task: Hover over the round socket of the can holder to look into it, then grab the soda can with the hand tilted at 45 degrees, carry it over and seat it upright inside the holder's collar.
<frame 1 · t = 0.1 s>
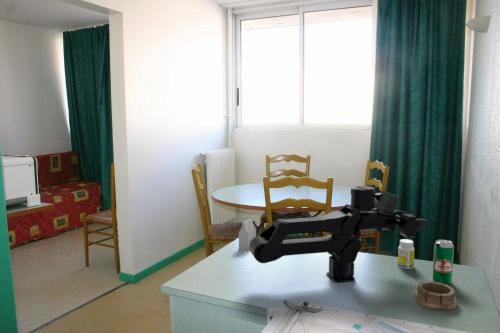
hand: (418, 217, 124), 17 cm above the kitchen counter, tool horizontal, fingers open, 9 cm apart
grey pointed block: (247, 247, 148), on the kitchen counter
supplement bottle: (405, 267, 129), on the kitchen counter
holder: (435, 301, 105), on the kitchen counter
soda can: (441, 282, 117), on the kitchen counter
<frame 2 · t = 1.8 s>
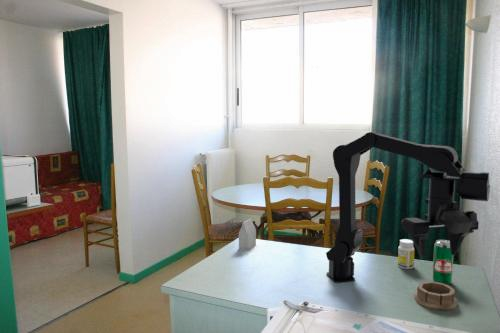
hand: (437, 256, 103), 12 cm above the kitchen counter, tool pointing down, fingers open, 9 cm apart
nothing on the kitchen counter moved.
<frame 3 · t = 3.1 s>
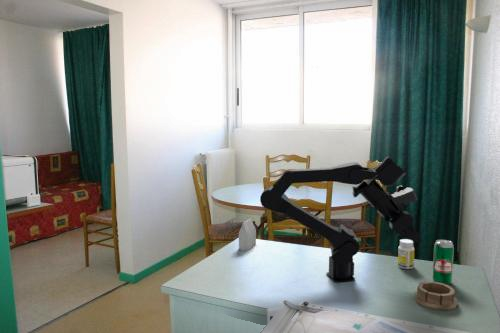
hand: (415, 236, 116), 13 cm above the kitchen counter, tool tilted 45°, fingers open, 9 cm apart
nothing on the kitchen counter moved.
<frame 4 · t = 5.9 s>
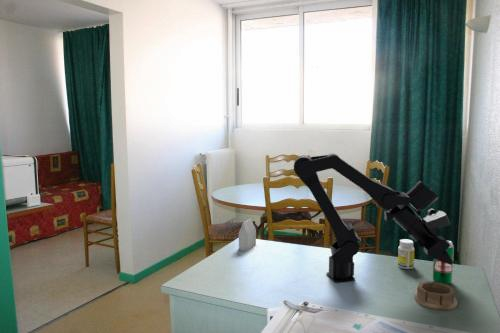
hand: (448, 260, 116), 7 cm above the kitchen counter, tool tilted 45°, fingers closed on soda can, 5 cm apart
soda can: (441, 282, 117), on the kitchen counter, touching gripper
everything else where it was.
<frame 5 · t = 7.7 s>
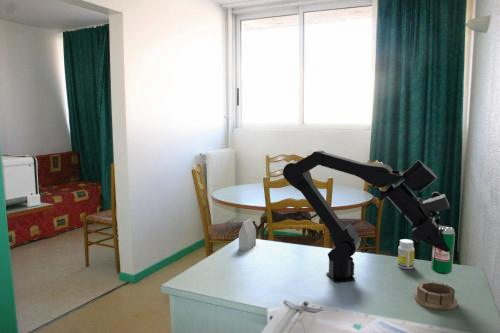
hand: (448, 248, 106), 13 cm above the kitchen counter, tool tilted 45°, fingers closed on soda can, 5 cm apart
soda can: (441, 272, 108), point 6 cm above the kitchen counter, touching gripper
everything else where it was.
when the fingers open (8 cm above the kitchen counter, at t = 9.5 s): soda can stays where it is, resting on holder.
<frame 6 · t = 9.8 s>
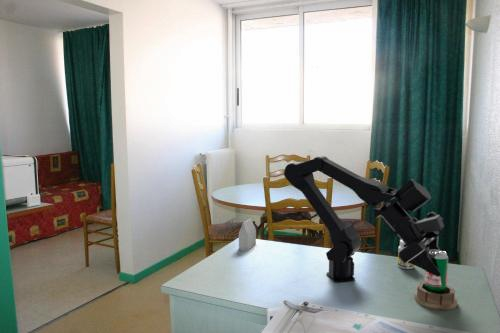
hand: (443, 270, 103), 9 cm above the kitchen counter, tool tilted 45°, fingers open, 7 cm apart
soda can: (434, 297, 105), point 1 cm above the kitchen counter, touching holder
everything else where it was.
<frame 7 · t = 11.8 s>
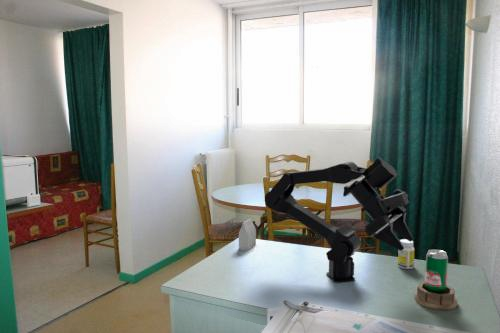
hand: (407, 245, 108), 14 cm above the kitchen counter, tool tilted 45°, fingers open, 9 cm apart
nothing on the kitchen counter moved.
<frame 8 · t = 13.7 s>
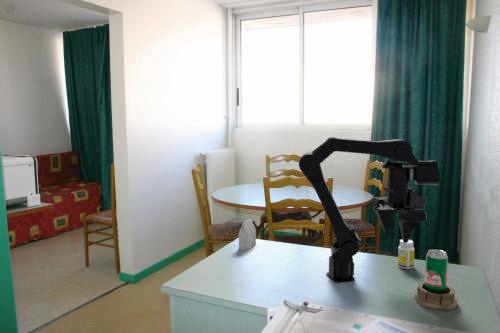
hand: (395, 237, 116), 13 cm above the kitchen counter, tool pointing down, fingers open, 9 cm apart
nothing on the kitchen counter moved.
at the end: soda can 0.1 cm off-centre on the holder, point 1.0 cm above the holder's base; soda can tilted 0°; the gripper is holding nothing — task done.
